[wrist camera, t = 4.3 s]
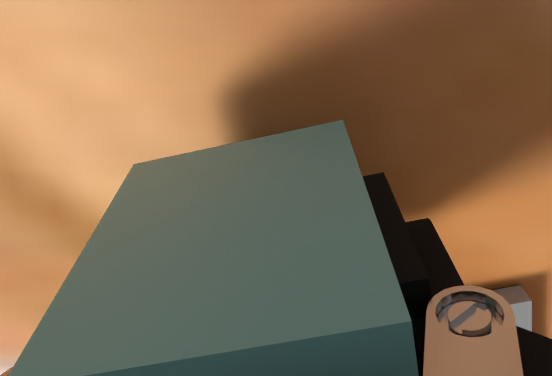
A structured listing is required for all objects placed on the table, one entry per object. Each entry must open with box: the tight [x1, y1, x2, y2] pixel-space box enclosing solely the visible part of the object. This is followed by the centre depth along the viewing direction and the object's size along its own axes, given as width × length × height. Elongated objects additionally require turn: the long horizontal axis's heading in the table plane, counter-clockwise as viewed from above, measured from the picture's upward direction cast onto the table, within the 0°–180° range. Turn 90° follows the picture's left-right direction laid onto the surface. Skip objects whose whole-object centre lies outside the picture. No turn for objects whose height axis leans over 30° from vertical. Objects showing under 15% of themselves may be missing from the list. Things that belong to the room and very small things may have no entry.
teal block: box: [8, 120, 419, 376], centre depth 10 cm, size 5×5×7 cm
